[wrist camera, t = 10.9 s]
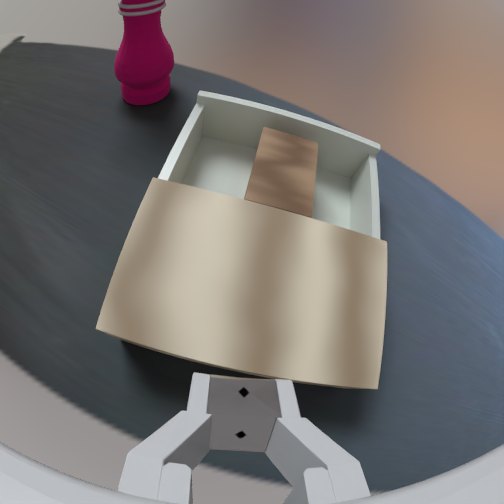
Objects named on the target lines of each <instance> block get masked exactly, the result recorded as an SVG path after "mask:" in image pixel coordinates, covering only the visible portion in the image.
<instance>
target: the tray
mask: <svg viewBox="0 0 504 504" xmlns="http://www.w3.org/2000/svg"><path fill="white" fill-rule="evenodd" d="M263 127H267V128H270V129H274V130H278V131H281V132H285V133H288V134H291V135H295V136H298V137H301V138H305V139H308V140H311V141H314V142H317V143H318V154H317V166H316V178H315V189H314V200H313V210H312V218H313V219H316V220H320V221H323V222H326V223H330V224H333V225H336V226H339V227H343V228H346V229H349V230H352V231H356V232H359V233H362V234H365V235H368V236H371V237H374V238H377V239H380V209H379V190H378V175H377V164H376V155H377V154H378V152H379V151H380V144H378V143H375V142H373V141H370V140H368V139H366V138H363V137H361V136H358V135H356V134H353V133H351V132H348V131H345V130H343V129H340V128H337V127H334V126H332V125H329V124H326V123H323V122H320V121H317V120H314V119H311V118H308V117H305V116H302V115H298V114H295V113H292V112H288V111H285V110H282V109H278V108H274V107H271V106H267V105H263V104H259V103H256V102H252V101H247V100H243V99H239V98H235V97H230V96H225V95H221V94H216V93H211V92H206V91H199V93H198V95H197V104H196V105H195V107H194V109H193V111H192V112H191V114H190V116H189V118H188V120H187V121H186V123H185V125H184V127H183V129H182V131H181V133H180V135H179V137H178V138H177V140H176V142H175V144H174V146H173V148H172V150H171V152H170V154H169V156H168V158H167V160H166V162H165V164H164V166H163V168H162V171H161V173H160V175H159V177H158V179H163V180H167V181H171V182H176V183H180V184H184V185H189V186H193V187H197V188H201V189H205V190H209V191H213V192H217V193H221V194H225V195H229V196H233V197H237V198H241V199H244V197H245V193H246V189H247V185H248V181H249V178H250V174H251V170H252V166H253V162H254V159H255V155H256V152H257V148H258V145H259V141H260V138H261V134H262V131H263Z"/></svg>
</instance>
